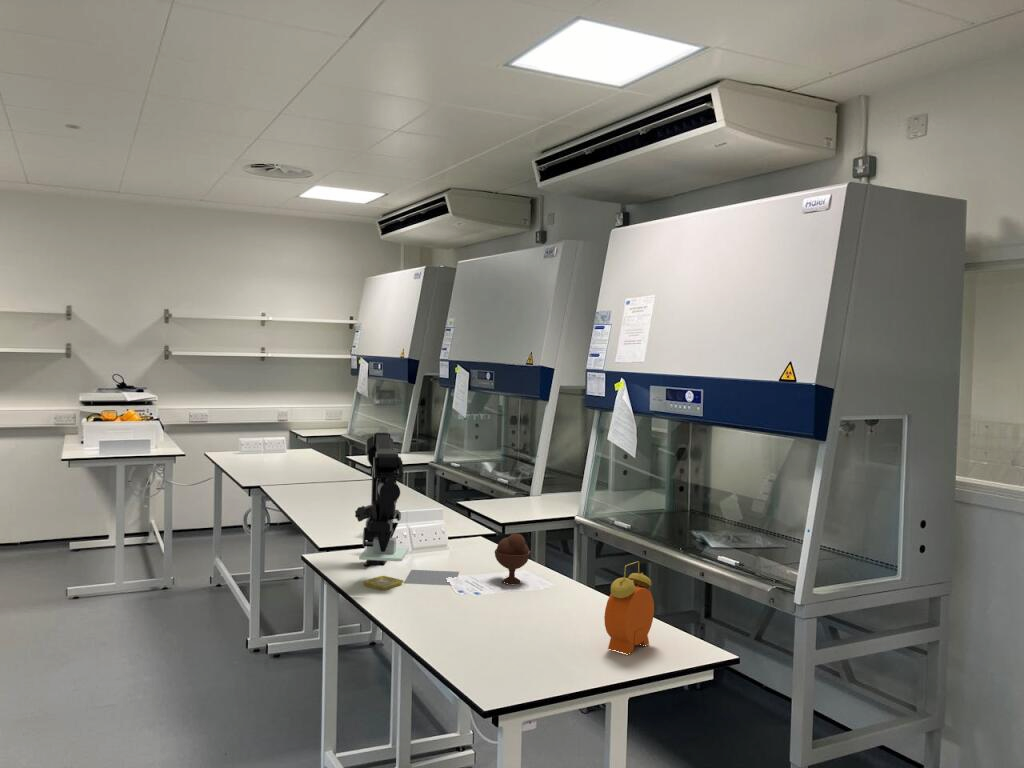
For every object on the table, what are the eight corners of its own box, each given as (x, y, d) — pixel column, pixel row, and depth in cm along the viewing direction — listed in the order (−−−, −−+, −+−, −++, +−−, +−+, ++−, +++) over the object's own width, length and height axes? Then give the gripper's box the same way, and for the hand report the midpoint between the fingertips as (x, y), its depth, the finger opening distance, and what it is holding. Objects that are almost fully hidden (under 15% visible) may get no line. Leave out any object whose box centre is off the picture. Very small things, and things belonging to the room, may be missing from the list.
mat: (411, 571, 246) (411, 569, 246) (459, 573, 246) (459, 571, 246) (403, 584, 231) (403, 583, 231) (454, 587, 231) (454, 585, 231)
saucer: (361, 588, 228) (361, 581, 228) (382, 582, 235) (382, 574, 235) (383, 594, 223) (383, 586, 223) (404, 587, 230) (404, 580, 230)
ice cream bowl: (530, 578, 243) (532, 530, 242) (527, 588, 232) (529, 538, 231) (496, 576, 244) (497, 528, 243) (491, 586, 233) (493, 535, 232)
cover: (368, 549, 235) (368, 533, 235) (408, 550, 234) (408, 534, 234) (359, 559, 223) (359, 542, 223) (401, 561, 222) (402, 544, 222)
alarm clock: (631, 636, 194) (634, 556, 194) (653, 643, 190) (656, 560, 190) (601, 650, 184) (605, 565, 183) (624, 657, 180) (628, 570, 179)
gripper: (365, 489, 238) (363, 541, 238) (350, 501, 219) (349, 556, 219) (401, 491, 237) (400, 542, 238) (390, 502, 219) (388, 558, 219)
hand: (384, 549), depth 228 cm, fingers closed on cover, 3 cm apart
